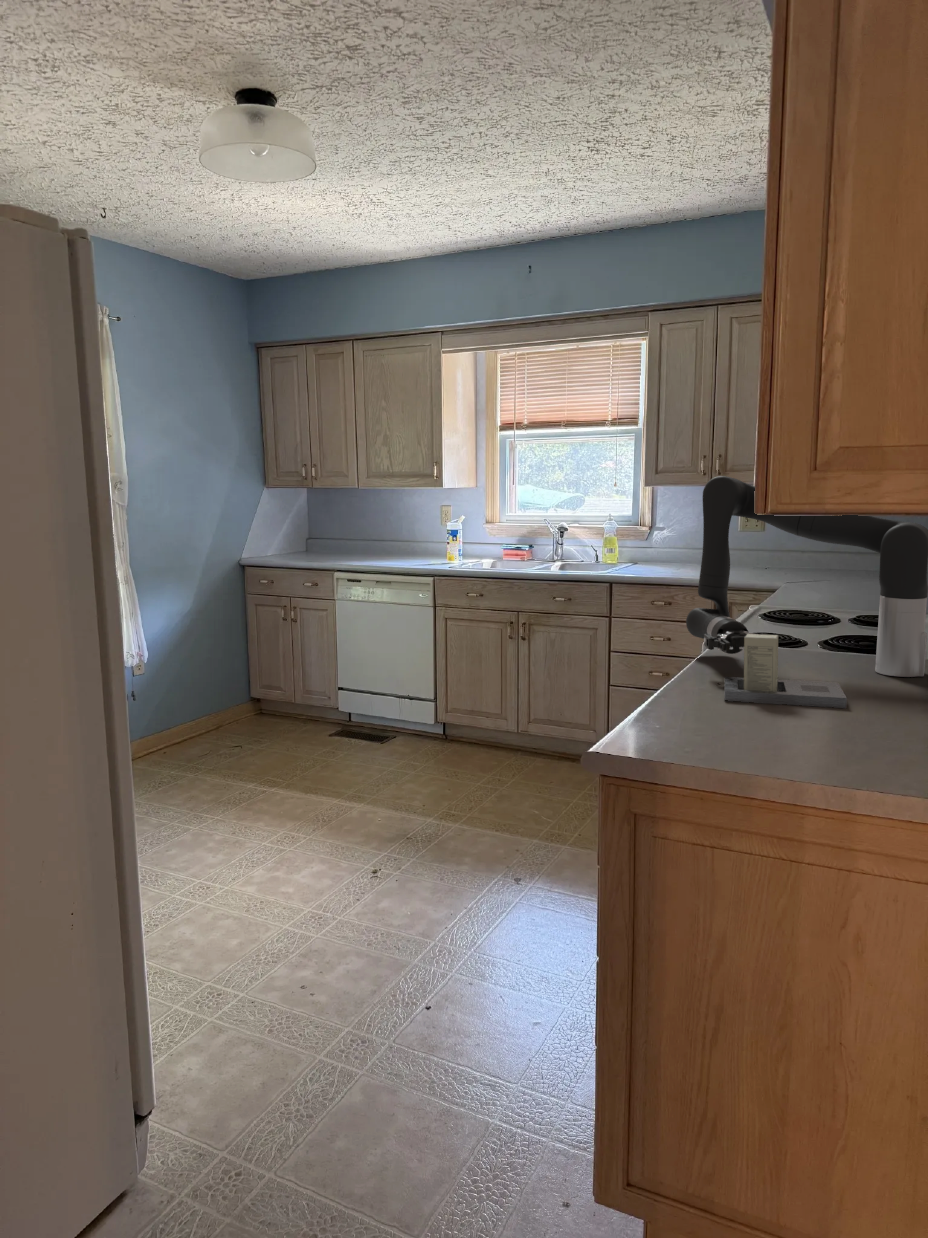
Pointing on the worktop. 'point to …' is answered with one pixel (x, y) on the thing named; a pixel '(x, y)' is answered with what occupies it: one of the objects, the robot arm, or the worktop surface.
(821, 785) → the worktop surface
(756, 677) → the skincare box
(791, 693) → the grey recessed board
